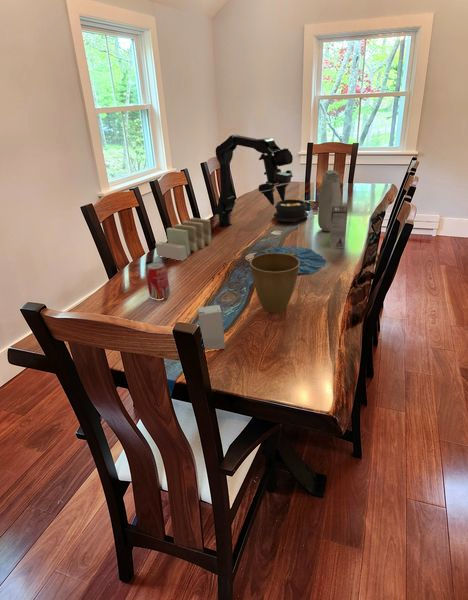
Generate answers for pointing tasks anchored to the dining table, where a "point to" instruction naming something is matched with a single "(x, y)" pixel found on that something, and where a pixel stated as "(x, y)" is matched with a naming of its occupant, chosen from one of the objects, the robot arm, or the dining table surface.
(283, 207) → the casserole
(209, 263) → the dining table surface
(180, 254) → the block
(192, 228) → the maple tile
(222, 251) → the dining table surface
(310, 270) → the decorative plate
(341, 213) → the coffee box
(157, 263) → the soda can
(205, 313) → the skincare box
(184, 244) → the sage end tile
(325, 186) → the grey bottle
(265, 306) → the plant pot
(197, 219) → the maple tile
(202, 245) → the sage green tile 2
